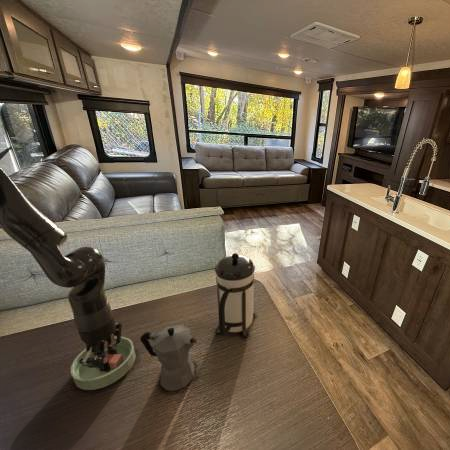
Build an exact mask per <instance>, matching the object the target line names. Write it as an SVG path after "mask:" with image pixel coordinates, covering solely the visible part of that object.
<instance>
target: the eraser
mask: <svg viewBox="0 0 450 450" xmlns="http://www.w3.org/2000/svg"><path fill="white" fill-rule="evenodd" d="M100 358H101V357H100ZM107 360H108V362H109V365H110V370H114V369H116V368H118V367H119V366H120V365H121V364H122V363H123V362H124V361H123V357H122V354H107ZM96 370H99V368H96Z"/></svg>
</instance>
